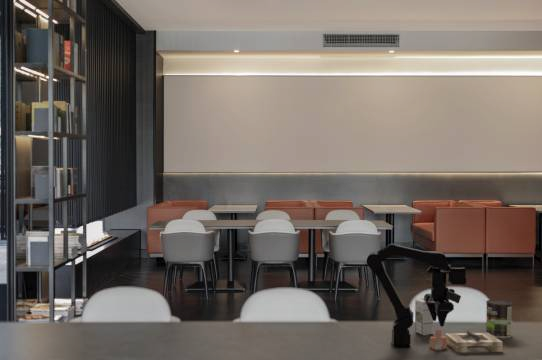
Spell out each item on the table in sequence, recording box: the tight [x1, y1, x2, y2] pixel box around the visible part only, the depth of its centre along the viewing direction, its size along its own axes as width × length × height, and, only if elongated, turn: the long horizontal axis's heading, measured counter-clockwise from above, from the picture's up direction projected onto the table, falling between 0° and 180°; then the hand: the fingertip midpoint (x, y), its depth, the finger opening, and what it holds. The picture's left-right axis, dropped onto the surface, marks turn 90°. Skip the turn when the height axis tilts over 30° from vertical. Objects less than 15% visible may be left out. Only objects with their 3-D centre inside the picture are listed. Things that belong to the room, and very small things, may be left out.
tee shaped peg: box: [429, 328, 448, 350], centre depth 257 cm, size 6×3×7 cm, turn 94°
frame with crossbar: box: [444, 330, 504, 354], centre depth 258 cm, size 18×14×6 cm
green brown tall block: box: [485, 299, 513, 339], centre depth 277 cm, size 10×10×14 cm
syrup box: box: [414, 297, 434, 336], centre depth 279 cm, size 6×6×14 cm
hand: (438, 323), depth 257 cm, fingers open, 9 cm apart
